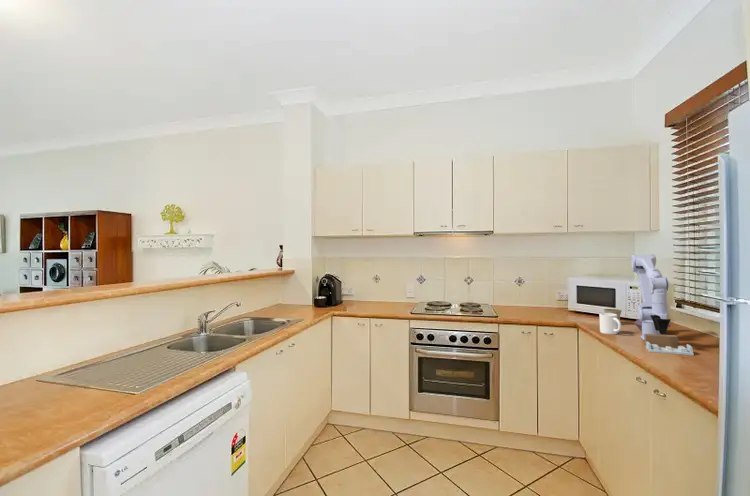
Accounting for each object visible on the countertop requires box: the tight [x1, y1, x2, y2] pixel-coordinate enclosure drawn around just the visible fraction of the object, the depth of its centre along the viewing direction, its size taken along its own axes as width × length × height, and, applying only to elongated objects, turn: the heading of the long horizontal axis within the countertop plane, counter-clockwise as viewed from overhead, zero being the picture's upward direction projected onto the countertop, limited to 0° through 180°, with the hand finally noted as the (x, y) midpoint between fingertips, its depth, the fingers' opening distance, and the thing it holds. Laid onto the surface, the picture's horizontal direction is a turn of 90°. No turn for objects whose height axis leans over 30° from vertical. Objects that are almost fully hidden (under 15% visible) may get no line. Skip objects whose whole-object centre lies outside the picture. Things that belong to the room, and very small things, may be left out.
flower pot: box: [603, 308, 623, 322], centre depth 219 cm, size 9×9×9 cm
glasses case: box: [643, 334, 680, 349], centre depth 166 cm, size 4×12×6 cm, turn 65°
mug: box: [598, 312, 622, 336], centre depth 194 cm, size 12×8×10 cm
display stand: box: [645, 342, 694, 356], centre depth 158 cm, size 7×15×3 cm, turn 62°
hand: (660, 332), depth 166 cm, fingers open, 7 cm apart
